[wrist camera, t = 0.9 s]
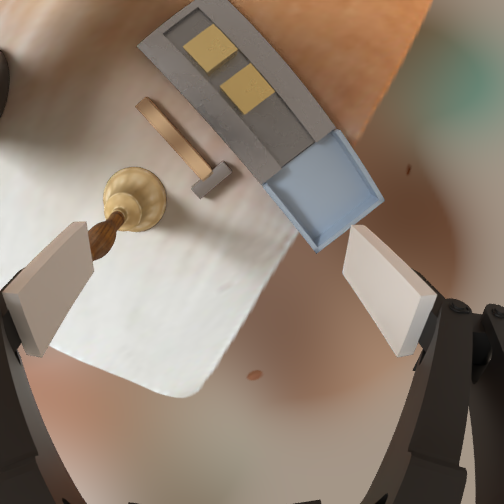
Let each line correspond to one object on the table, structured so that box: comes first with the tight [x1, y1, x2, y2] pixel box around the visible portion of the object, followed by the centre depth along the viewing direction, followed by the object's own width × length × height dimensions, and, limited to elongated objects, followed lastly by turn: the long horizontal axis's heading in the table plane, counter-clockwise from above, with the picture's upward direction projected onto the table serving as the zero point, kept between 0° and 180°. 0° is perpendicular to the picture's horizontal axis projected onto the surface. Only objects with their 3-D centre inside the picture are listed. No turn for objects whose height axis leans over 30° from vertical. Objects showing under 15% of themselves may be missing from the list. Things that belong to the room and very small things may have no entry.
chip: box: [220, 63, 275, 115], centre depth 30 cm, size 4×4×3 cm
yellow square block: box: [183, 24, 238, 76], centre depth 28 cm, size 4×4×3 cm
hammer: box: [135, 97, 232, 199], centre depth 34 cm, size 13×5×2 cm, turn 39°
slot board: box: [137, 0, 336, 185], centre depth 31 cm, size 22×11×2 cm, turn 39°
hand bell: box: [88, 167, 166, 262], centre depth 29 cm, size 8×8×16 cm
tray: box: [262, 129, 385, 254], centre depth 37 cm, size 11×11×3 cm
